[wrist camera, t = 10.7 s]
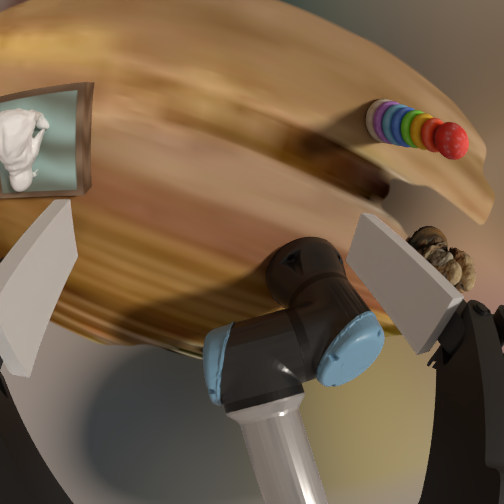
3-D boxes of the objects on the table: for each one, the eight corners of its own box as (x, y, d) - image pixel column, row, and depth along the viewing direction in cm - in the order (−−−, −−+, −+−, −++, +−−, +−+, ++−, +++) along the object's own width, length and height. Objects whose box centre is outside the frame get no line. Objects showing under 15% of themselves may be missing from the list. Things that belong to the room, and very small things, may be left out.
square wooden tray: (91, 186, 39) (82, 196, 35) (11, 189, 35) (-1, 199, 31) (94, 82, 31) (84, 82, 27) (8, 95, 27) (-7, 98, 23)
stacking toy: (390, 147, 46) (466, 184, 30) (357, 132, 43) (436, 164, 28) (404, 109, 42) (484, 134, 27) (371, 91, 40) (455, 106, 24)
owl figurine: (391, 258, 60) (437, 305, 46) (419, 214, 56) (472, 255, 41) (428, 276, 67) (467, 317, 53) (452, 240, 63) (495, 276, 48)
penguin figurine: (23, 115, 20) (22, 211, 27) (54, 101, 27) (48, 182, 33) (-16, 114, 18) (-13, 205, 25) (19, 100, 25) (15, 178, 31)
